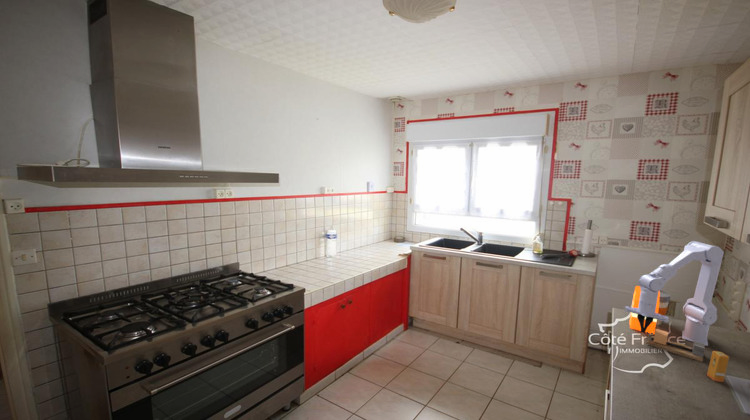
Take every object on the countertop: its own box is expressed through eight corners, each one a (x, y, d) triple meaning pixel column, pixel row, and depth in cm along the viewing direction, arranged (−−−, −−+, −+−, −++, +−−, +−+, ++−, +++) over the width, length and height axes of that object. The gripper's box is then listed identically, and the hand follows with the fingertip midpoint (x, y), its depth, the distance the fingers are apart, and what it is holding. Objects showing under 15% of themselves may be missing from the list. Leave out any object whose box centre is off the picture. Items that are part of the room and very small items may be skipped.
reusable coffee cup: (627, 316, 163) (631, 288, 161) (643, 312, 167) (647, 285, 165) (655, 328, 151) (660, 298, 149) (672, 324, 156) (677, 295, 153)
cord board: (648, 337, 144) (649, 326, 143) (701, 353, 132) (704, 341, 131) (646, 344, 138) (648, 333, 137) (702, 362, 126) (704, 350, 125)
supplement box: (724, 382, 114) (730, 357, 113) (713, 381, 115) (718, 355, 114) (717, 376, 118) (722, 351, 116) (706, 375, 118) (711, 350, 117)
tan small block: (654, 337, 141) (655, 328, 140) (666, 341, 138) (668, 332, 137) (653, 341, 137) (654, 332, 137) (665, 345, 135) (667, 336, 134)
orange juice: (629, 321, 157) (635, 283, 154) (652, 327, 152) (659, 287, 149) (630, 328, 151) (636, 288, 148) (654, 334, 146) (661, 293, 143)
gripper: (625, 300, 141) (621, 328, 144) (669, 311, 132) (664, 341, 134) (627, 295, 146) (623, 323, 149) (670, 305, 137) (665, 335, 139)
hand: (643, 331), depth 141 cm, fingers closed
